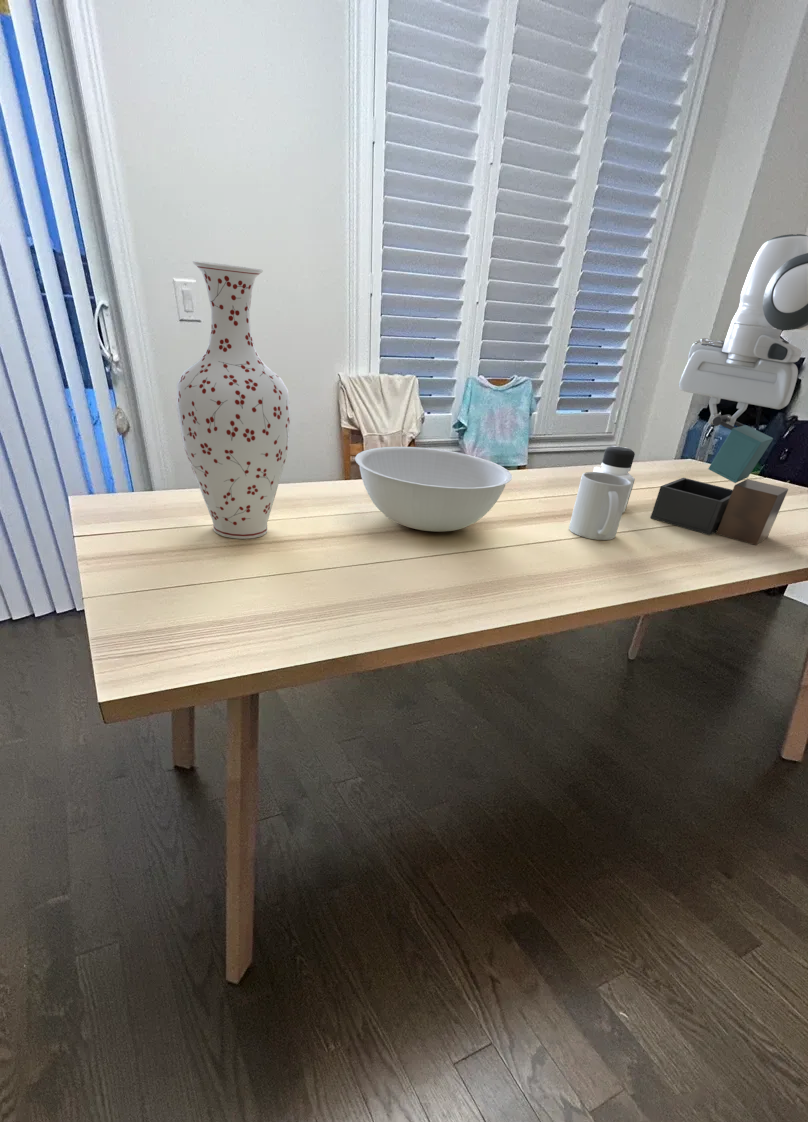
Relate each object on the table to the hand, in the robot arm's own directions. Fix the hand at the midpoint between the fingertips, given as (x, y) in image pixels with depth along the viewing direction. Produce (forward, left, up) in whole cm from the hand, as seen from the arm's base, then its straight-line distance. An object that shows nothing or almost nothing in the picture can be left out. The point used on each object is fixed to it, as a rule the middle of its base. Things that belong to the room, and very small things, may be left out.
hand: (720, 425), depth 125 cm
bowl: (+30, +52, -19) cm, 63 cm away
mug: (+8, +29, -19) cm, 36 cm away
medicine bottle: (+15, +8, -19) cm, 26 cm away
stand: (-12, 0, -19) cm, 22 cm away
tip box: (-8, 0, -4) cm, 10 cm away
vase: (+45, +82, -19) cm, 96 cm away
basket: (-1, 0, -19) cm, 19 cm away
